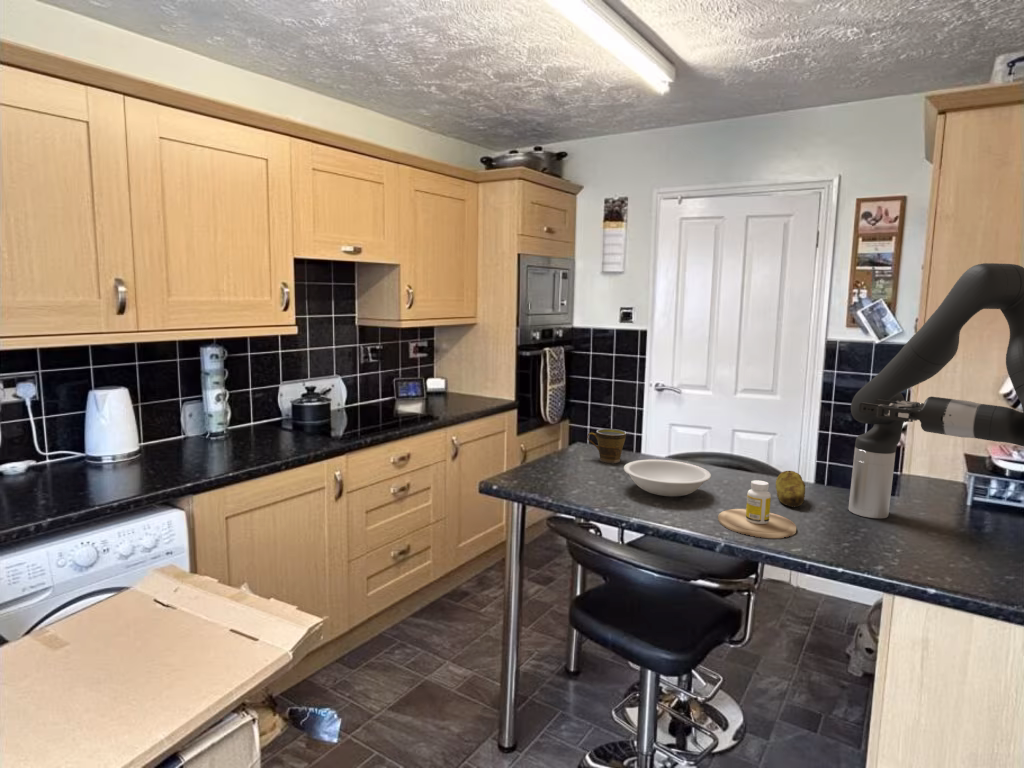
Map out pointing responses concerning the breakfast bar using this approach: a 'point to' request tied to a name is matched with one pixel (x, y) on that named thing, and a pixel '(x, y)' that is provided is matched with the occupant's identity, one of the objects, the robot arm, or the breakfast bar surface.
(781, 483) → the potato
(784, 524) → the round wooden board
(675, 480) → the soup bowl
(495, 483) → the breakfast bar surface
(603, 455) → the ceramic cup
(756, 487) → the supplement bottle
